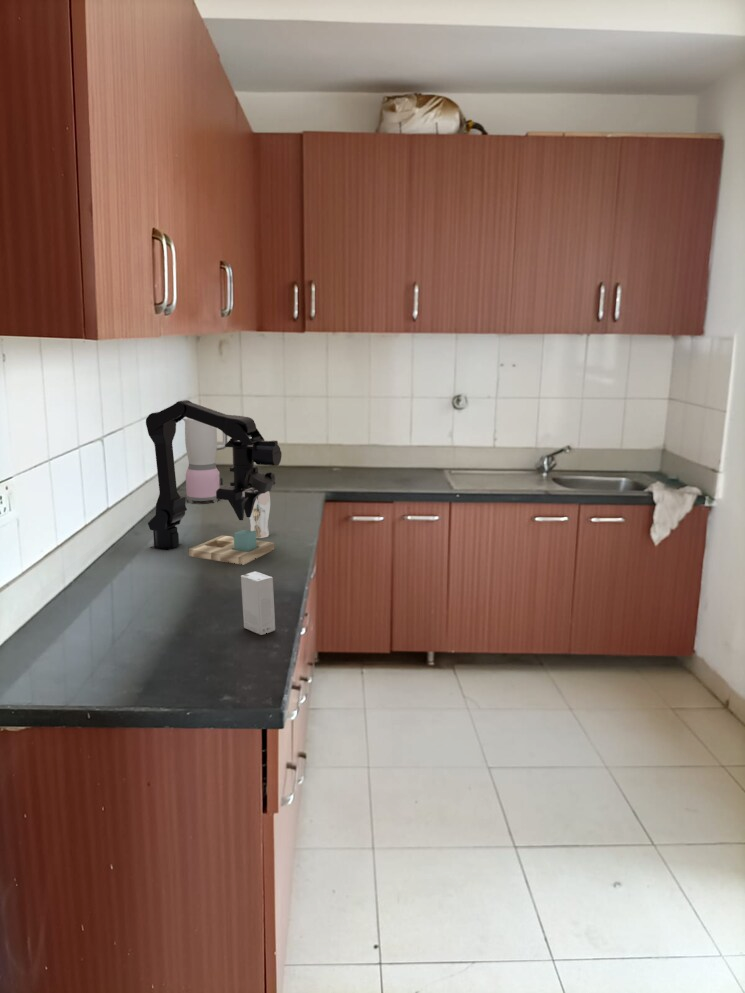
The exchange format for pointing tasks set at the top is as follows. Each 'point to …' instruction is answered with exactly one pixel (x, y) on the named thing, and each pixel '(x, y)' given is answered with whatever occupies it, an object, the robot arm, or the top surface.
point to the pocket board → (229, 550)
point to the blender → (202, 461)
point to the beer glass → (261, 515)
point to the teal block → (245, 540)
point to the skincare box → (258, 602)
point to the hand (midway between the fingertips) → (244, 518)
